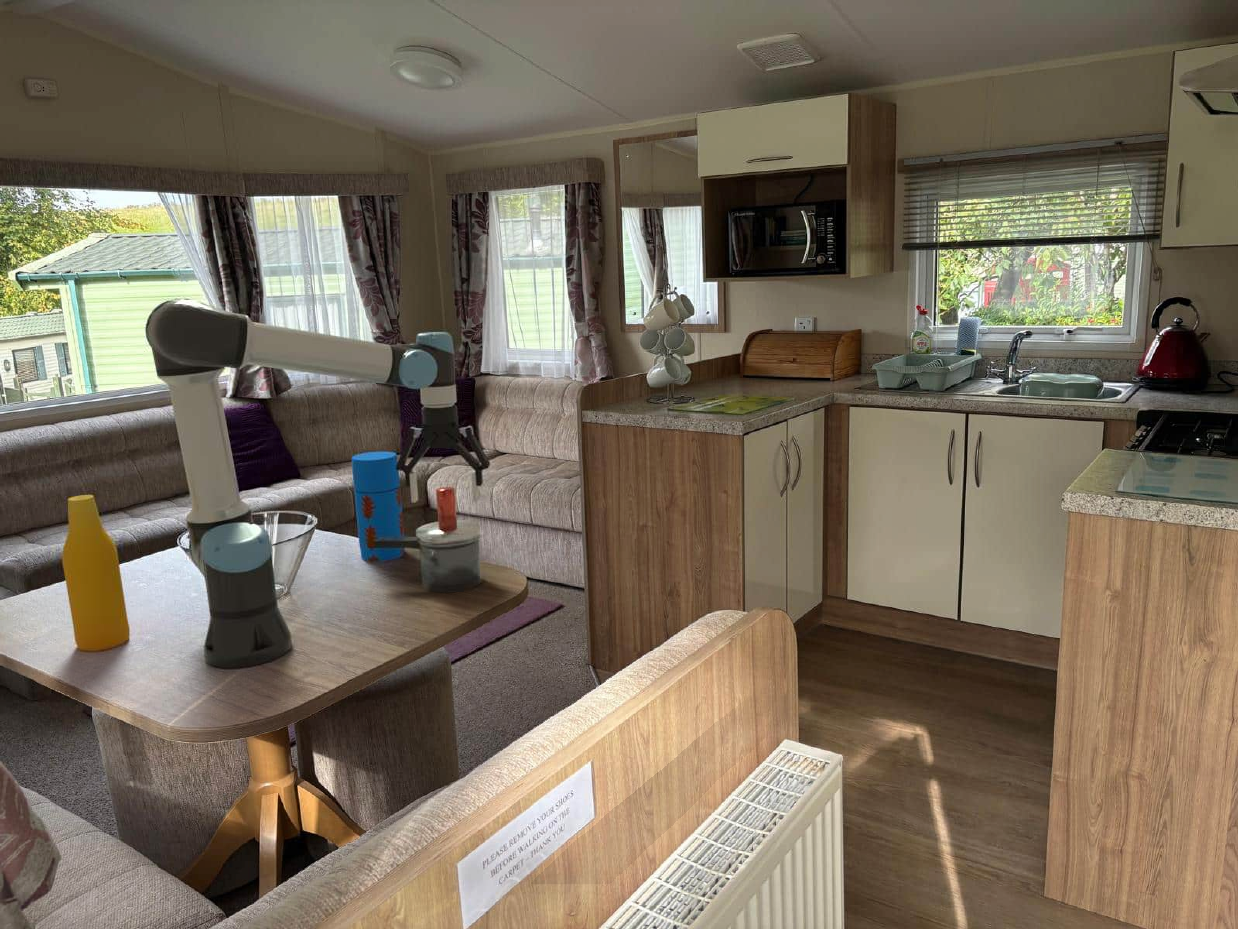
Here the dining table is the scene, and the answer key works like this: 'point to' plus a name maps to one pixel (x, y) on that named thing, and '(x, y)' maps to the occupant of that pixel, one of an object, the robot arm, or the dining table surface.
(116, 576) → the beer bottle
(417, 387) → the robot arm
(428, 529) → the lid
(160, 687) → the dining table surface
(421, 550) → the pot
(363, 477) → the thermos
